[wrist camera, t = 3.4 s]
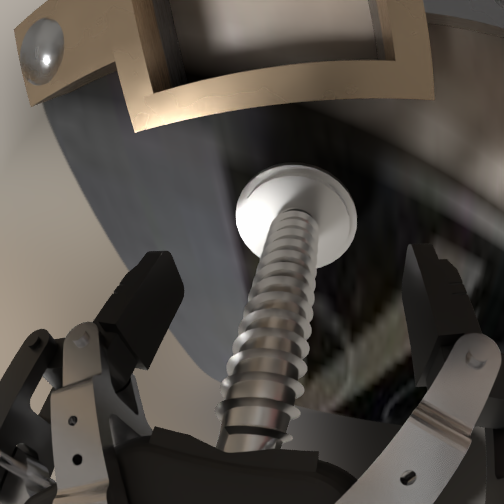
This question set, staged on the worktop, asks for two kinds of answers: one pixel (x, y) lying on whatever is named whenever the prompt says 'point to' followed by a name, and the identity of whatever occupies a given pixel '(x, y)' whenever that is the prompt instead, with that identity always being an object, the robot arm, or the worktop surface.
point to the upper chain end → (212, 89)
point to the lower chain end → (436, 9)
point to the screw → (280, 297)
